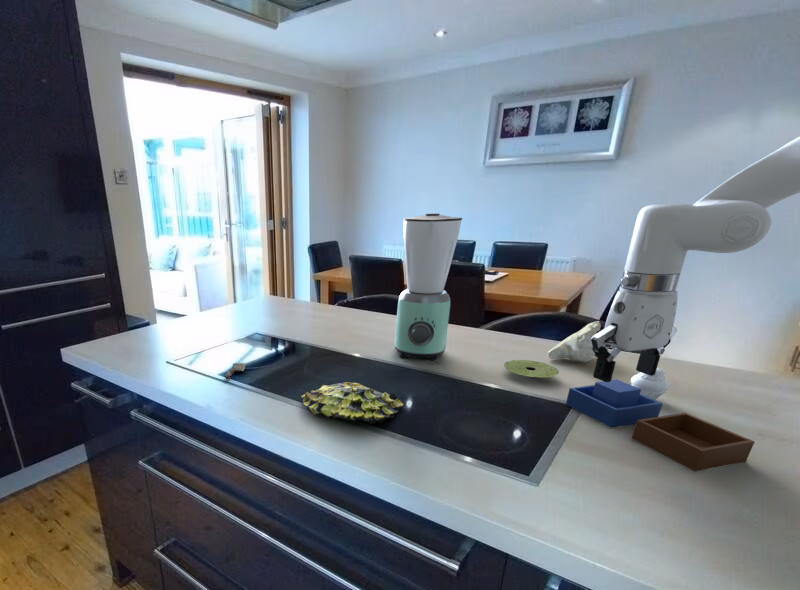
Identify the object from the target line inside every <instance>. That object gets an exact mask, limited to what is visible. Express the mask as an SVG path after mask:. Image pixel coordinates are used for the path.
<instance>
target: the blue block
mask: <svg viewBox="0 0 800 590" xmlns="http://www.w3.org/2000/svg"><path fill="white" fill-rule="evenodd" d="M594 385H595V386H594V389H593V393H592V397H593V398H595V399H597V400H599V401H601V402H603V403H606V404H608V405H610V406H612V407H614V408H616V409H617V408H623V407H630V406H636V405H637V402H638V398H639V395H640V392H641V389H639V388H637V387H634V386H632V385H631V384H629V383H627V382H624V381H622V380H620V379H611V381H610V382H604V381H602V380H600V381H595V382H594Z"/></svg>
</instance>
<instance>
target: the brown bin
mask: <svg viewBox="0 0 800 590" xmlns="http://www.w3.org/2000/svg"><path fill="white" fill-rule="evenodd" d="M634 425H635V426H634V429H633V432H632V435H631V438H630V439H631V440H633V441H635V442H637V443H639V444H640V445H642V446H644V447H647V448H649V449H651V450H653V451H654V452H656V453H658V454H660V455H662V456H664V457H666V458H667V459H669V460H672V461H673V462H675V463H677V464H678V465H679V464H680V465H681V466H683V467H685V468H687V469H689V470H691V471H693V472H698V471H704V470H709V469H715V468H720V467H725V466H730V465H735V464H740V463H745V462H747V460H748V458H749V456H750V453H751V451H752V449H753V448H754V445H755V443H756V441H754V440H752V439H749V438H747V437H744V436H742V435H740V434H737V433H736V432H733V431H730V430H728V429H726V428H724V427H721V426H719V425H716V424H713V423H712V422H709V421H706V420H704V419H702V418H699V417H697V416H694V415H692V414H690V413H687V412H680V413H675V414H673V413H672V414H667V415H660V416H658V417H654V418H647V419H641V420H637V422H636V424H634Z"/></svg>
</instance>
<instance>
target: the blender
mask: <svg viewBox="0 0 800 590" xmlns="http://www.w3.org/2000/svg"><path fill="white" fill-rule="evenodd" d="M402 219H403V246H404V263H405V264H404V265H405V277H406V289H404V290H403V291H402V292H401V293H400V295H399V297H398V302H397V309H396V321H395V333H394V343H393V345H394V349H395V350H396V352H398V354H399V358H401V359H407V358H408V357H411V358H419V359H428V358H429V360H430V361H433V362H434V361H438V359H439V357H440V356H441V355H442V354H444V353H445V350H446V346H447V340H448V339H447V338H448V329H449V322H450V314H451V313H450V312H451V297H450V295H449V293H448V292H447V291H446V290H445V286H446V283H447V279H448V275H449V272H450V268H451V264H452V261H453V257H454V254H455V250H456V246H457V243H458V240H459V235H460V230H461V223H462V220H463V217H460V216H449V215H443V214H440V213H437V212H435V213H425V214H424V215H423V214H422V215H418V216H412V217H403V218H402Z"/></svg>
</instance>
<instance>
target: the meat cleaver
mask: <svg viewBox="0 0 800 590" xmlns="http://www.w3.org/2000/svg"><path fill="white" fill-rule="evenodd" d="M246 366H247V363H246V362H236V363H235V362H234V363H232V367H233V368H231V369H229V370H228V371H226V373H225V375H224V378H226V379H225V380H227V379H229V380H231V377H232V376H233V375H234V374H235V373H236V372H244V371H245V369H246ZM234 372H235V373H234ZM232 374H233V375H232ZM230 376H231V377H230Z"/></svg>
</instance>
